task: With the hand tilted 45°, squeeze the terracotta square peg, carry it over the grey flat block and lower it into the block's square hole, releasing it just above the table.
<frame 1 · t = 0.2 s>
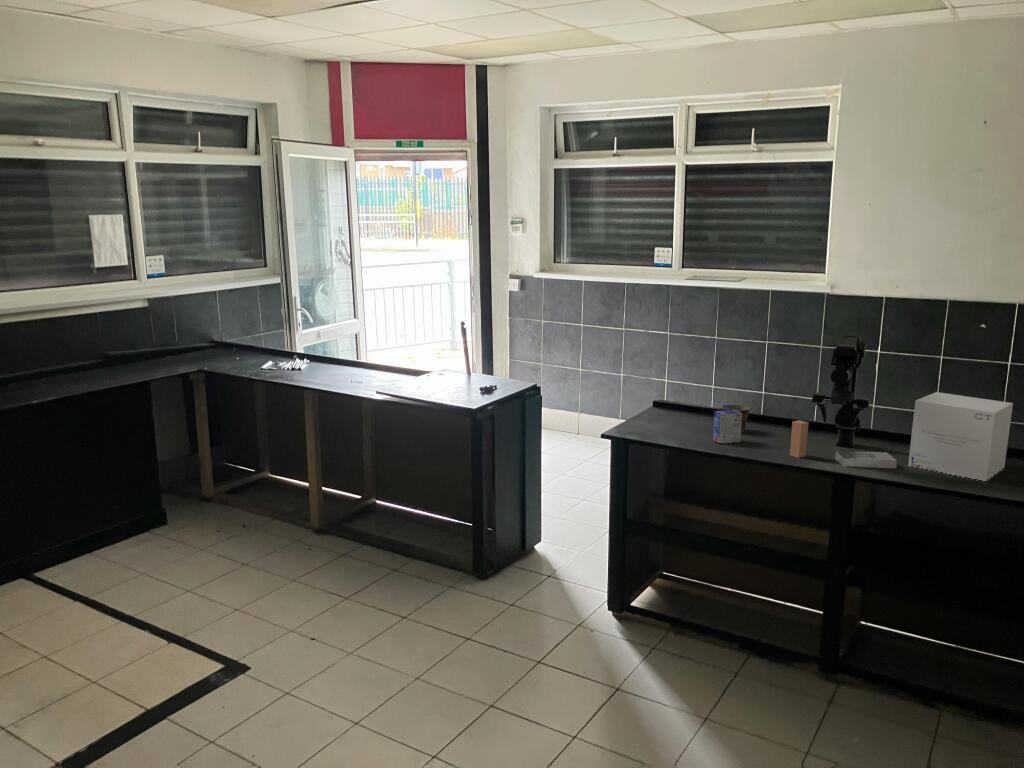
hand: (838, 423, 287), 15 cm above the table, tool pointing down, fingers open, 9 cm apart
square peg: (797, 455, 298), on the table
ink cartridge box: (726, 442, 317), on the table
grey flat block: (865, 463, 289), on the table
ceramic cup: (731, 431, 334), on the table
white cardboard box: (955, 469, 286), on the table
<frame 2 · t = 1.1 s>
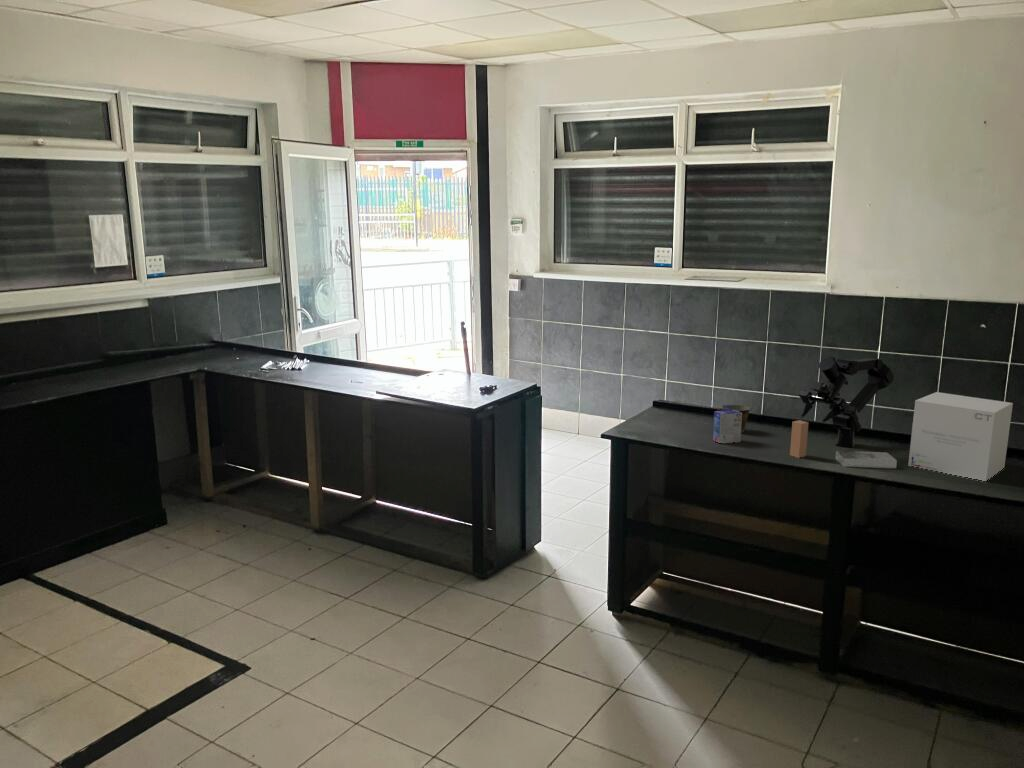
hand: (812, 419, 299), 13 cm above the table, tool tilted 45°, fingers open, 9 cm apart
nothing on the table moved.
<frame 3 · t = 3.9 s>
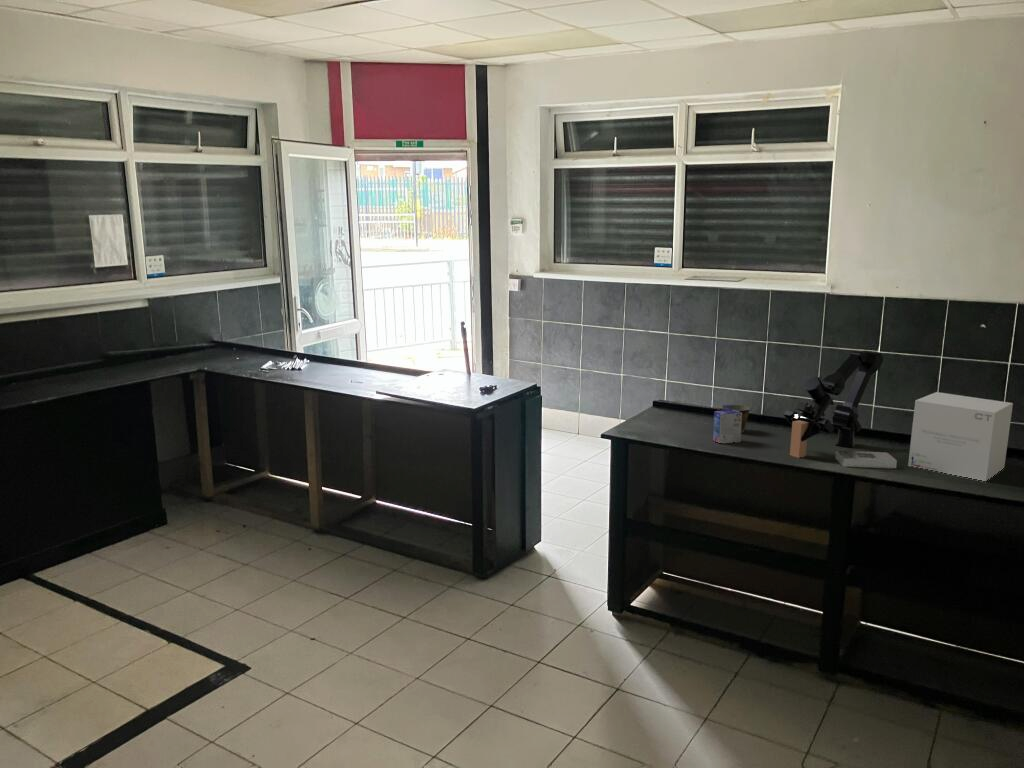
hand: (796, 439, 296), 7 cm above the table, tool tilted 45°, fingers closed on square peg, 4 cm apart
square peg: (797, 455, 298), on the table, touching gripper
everything else where it was.
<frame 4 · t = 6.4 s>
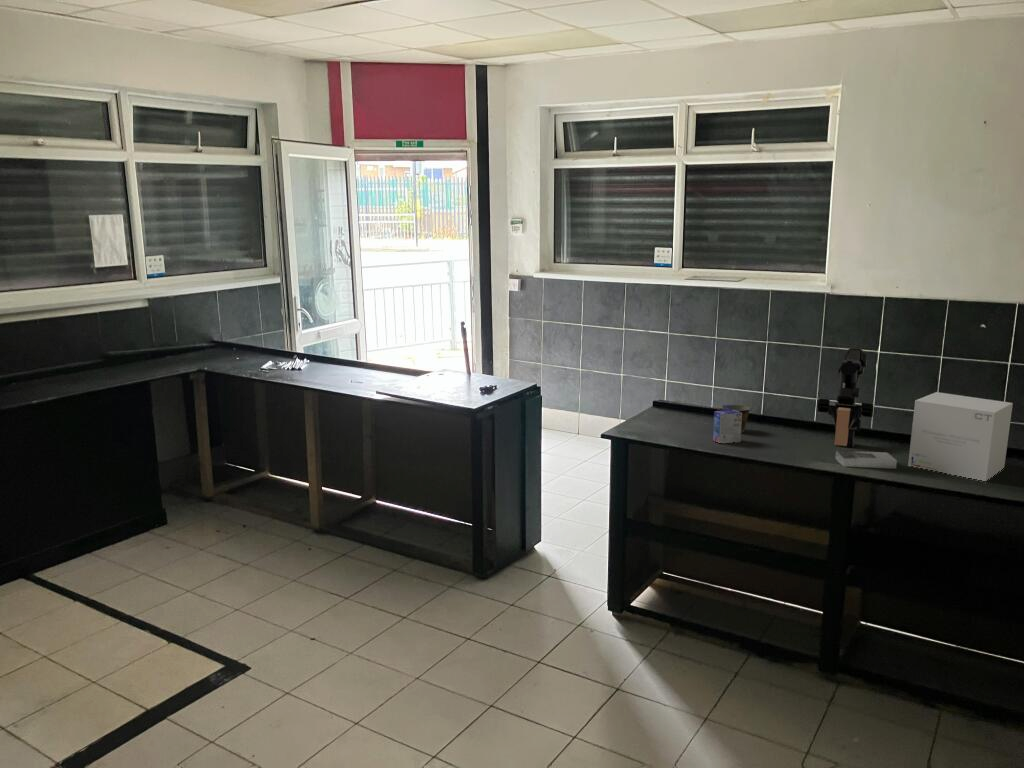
hand: (842, 427, 287), 13 cm above the table, tool tilted 45°, fingers closed on square peg, 4 cm apart
square peg: (840, 444, 289), point 7 cm above the table, touching gripper
everything else where it was.
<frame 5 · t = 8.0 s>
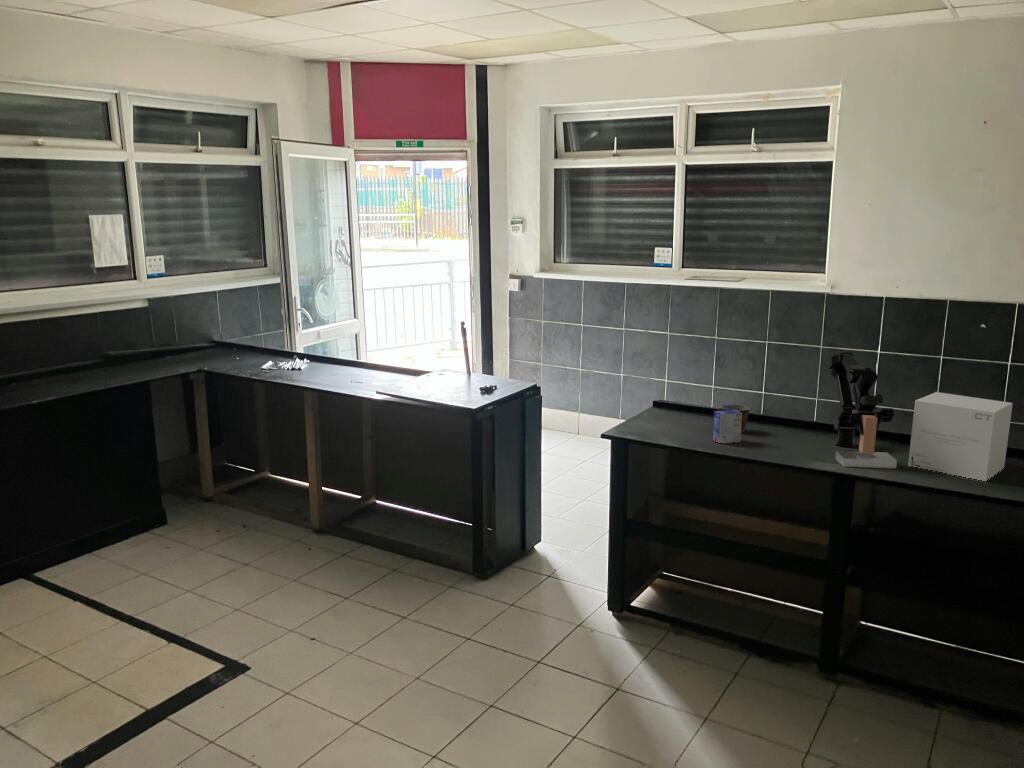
hand: (869, 434, 286), 11 cm above the table, tool tilted 45°, fingers closed on square peg, 4 cm apart
square peg: (866, 451, 289), point 4 cm above the table, touching gripper
everything else where it was.
when the fingers open (7 cm above the table, at t = 9.1 s): square peg stays where it is, resting in grey flat block.
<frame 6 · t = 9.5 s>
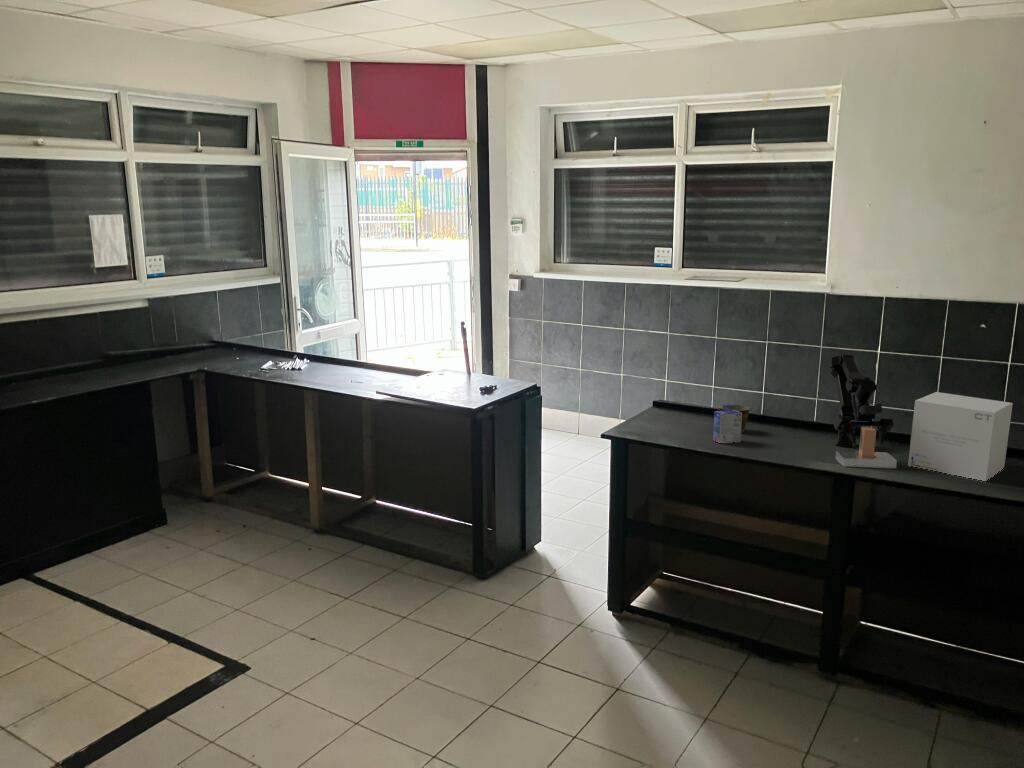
hand: (868, 444, 287), 8 cm above the table, tool tilted 45°, fingers open, 9 cm apart
square peg: (865, 463, 289), resting in grey flat block
everything else where it was.
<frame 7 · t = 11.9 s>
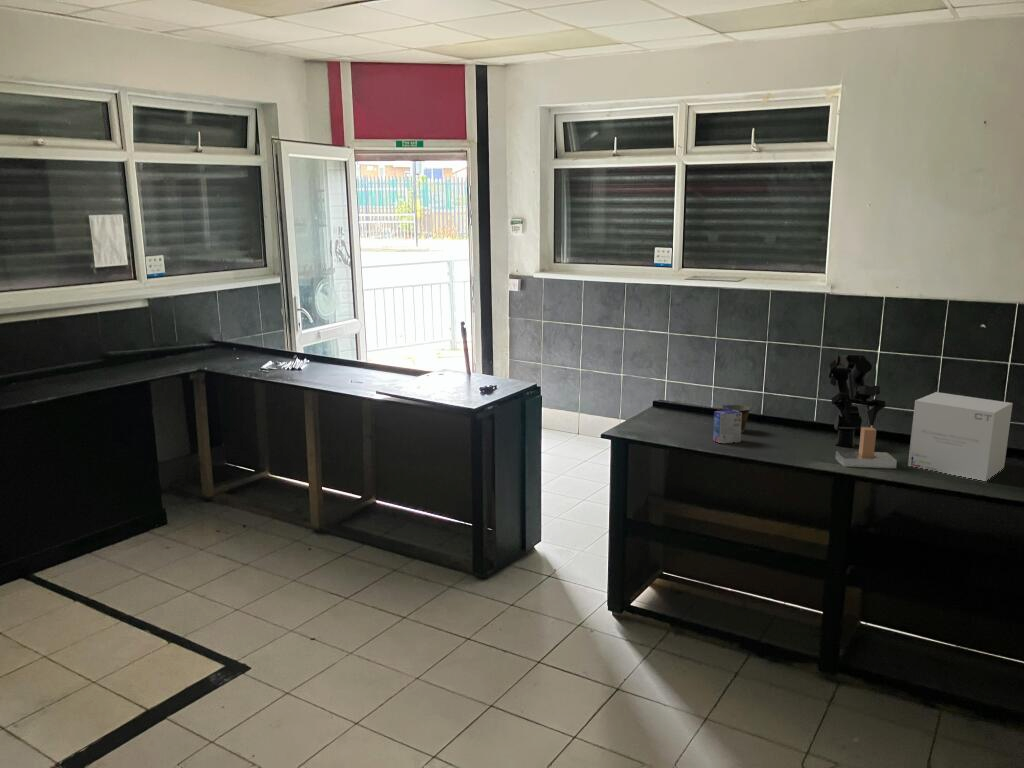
hand: (860, 423, 293), 13 cm above the table, tool tilted 35°, fingers open, 9 cm apart
nothing on the table moved.
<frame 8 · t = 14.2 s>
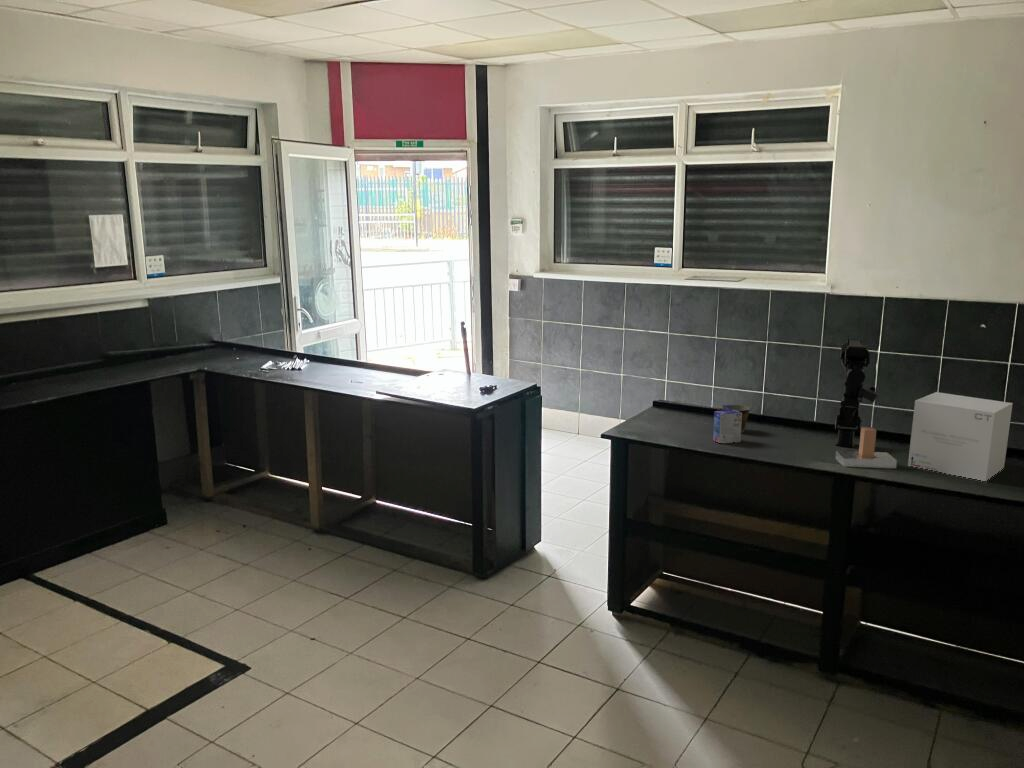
hand: (850, 420, 298), 13 cm above the table, tool pointing down, fingers open, 9 cm apart
nothing on the table moved.
at the end: square peg 0.0 cm off-centre on the grey flat block, point 0.0 cm above the grey flat block's base; square peg tilted 0°; the gripper is holding nothing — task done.
